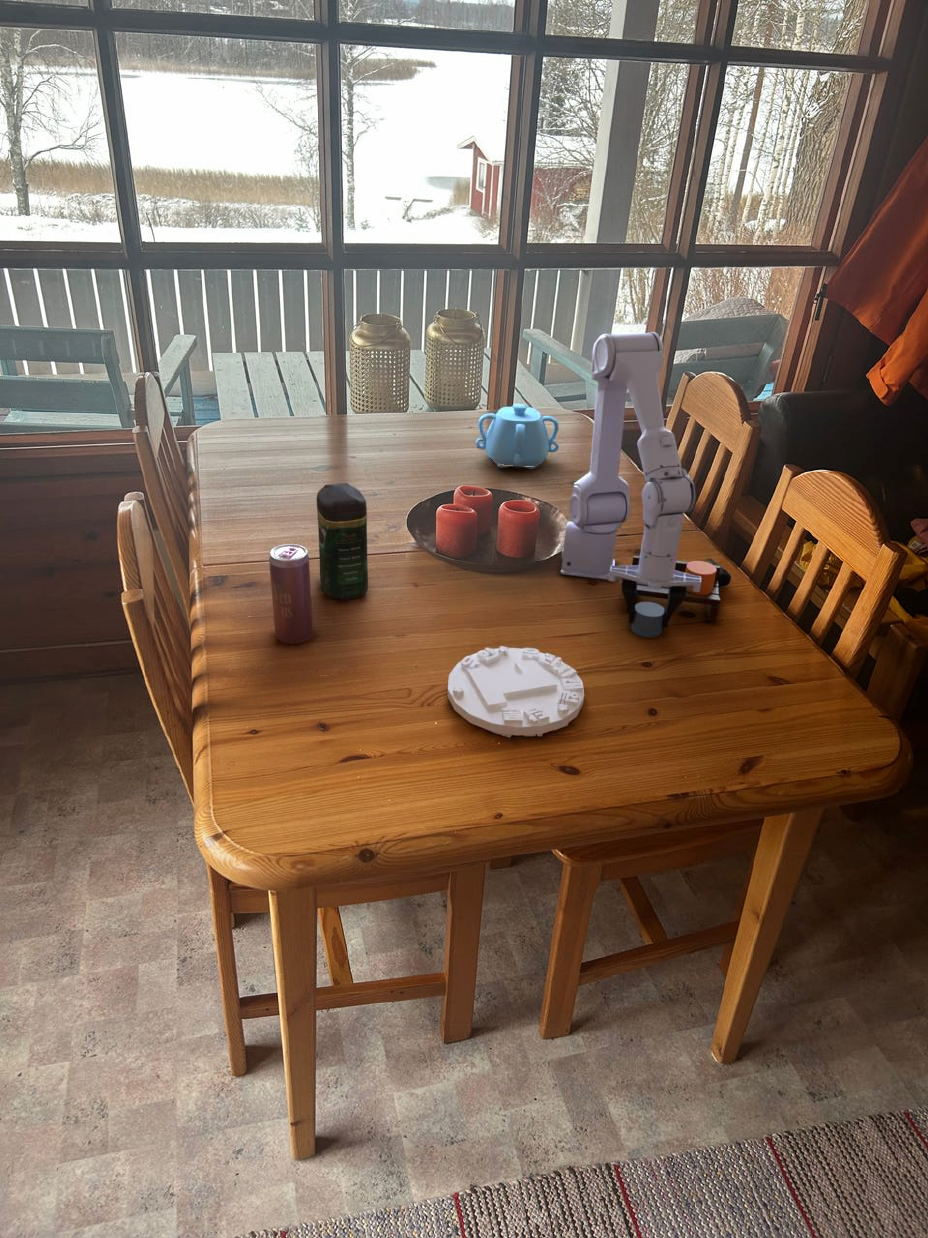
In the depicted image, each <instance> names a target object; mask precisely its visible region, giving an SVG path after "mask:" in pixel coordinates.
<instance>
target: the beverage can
mask: <svg viewBox="0 0 928 1238" xmlns="http://www.w3.org/2000/svg"><path fill="white" fill-rule="evenodd" d="M268 562H269V563H268V564H269V575H270V587H271V588H270V590H271V600H272V601H271V602H272V613H273V626H274V635H275V637H276V638H277V639H278V640H279V641H280V642H281V643H284V644H287V645H299V644H303V643H305V642H308V640H309V639H310V638H311V636H312V635H313V633H314V627H313V610H312V608H313V607H312V591H311V589H312V588H311V575H310V574H311V572H310V569H311V568H310V557H309V554H308V550H307V548H306V547H305V546H302V545H300V544H294V543H287V544H286V543H285V544H280V545H278V546H274V547H273V548H271V550H270V551H269V558H268Z"/></svg>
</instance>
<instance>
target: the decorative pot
mask: <svg viewBox="0 0 928 1238" xmlns="http://www.w3.org/2000/svg"><path fill="white" fill-rule="evenodd" d="M489 419H492V421H491V423H490V425H489V427H488V429H487V432H486V433H485V430H484V421H486V420H489ZM547 421H549V422H552V423H553V431H552V432H551V435H550V437H549V433H548V429H547V426H546V422H547ZM477 425H478V427H477V428H478V431H479V434H480V437H479V438H477V439H476V440H475V447H476V448H477V450H480V451H481V450H485V452H486V454H487V456H488V457H489V459H490V458H491V459H492V460H493V461H495V462H497V463H500V464H504V465H513V466H534V467H524V468H525V469H529V470H533V469H536V467H537V466H536V465H538V466H539V464H540V465H541V464H542V463H543V462H544V461H545V459H546V458H547V457H548V455H549V453H551V454H552V453H553V454H554V453H556V452H558V451H559V449H560V448H559V447H560V445H559V442H558V441H555V439H556V436H557V434H558V432H559V430H560V429H559V428H560V423H559V421H558V420H557V419H556V418H555V417H553V416H552V415H543V416H542V414H541V412H540V410H539V411H538V410H537V409H536V408H534V407H528V406H527V404H524V403H514V404H512V406H503V407H501V408H499V409H498V411H497V412H496V414H495V413H492V412H491V413H490V412H489V413H488V412H487V413H485V414H483V415H481V416H480V418H479V419H478V424H477ZM480 442H482V444H480ZM552 445H554V447H552ZM491 459H490V460H491ZM492 460H491V461H492ZM493 461H492V462H493ZM496 466H497V467H499V468H501V469H504V468H508V467H509V466H502V465H498V464H496Z"/></svg>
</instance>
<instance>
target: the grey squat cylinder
mask: <svg viewBox="0 0 928 1238" xmlns="http://www.w3.org/2000/svg"><path fill="white" fill-rule="evenodd" d="M664 616H665V607H664V606H663V605H661V604H660V603H656V602H653V601H640V602H638V603H635V606H634V617H633V623H631V631H632V632H633V633H634V634H635V635H637V636H639V637H643V638H657V637H659V636H661V634H662V633H663V621H664Z"/></svg>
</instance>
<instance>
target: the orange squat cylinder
mask: <svg viewBox="0 0 928 1238" xmlns="http://www.w3.org/2000/svg"><path fill="white" fill-rule="evenodd" d="M688 562H689V563H688V564H687V566H686V572H685V573H687V574H690V575H695V576H701V587H700V592H693V590H692V589H686V591H688V592H690V593H692V594H696V595H707V594H710V593H711V592H712V590H713V586H714V581H715V576H716V571H717V569H716V567H715V566H714V565H712V564H710V563H708V562H704V561H694V560H693V561H688Z"/></svg>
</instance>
